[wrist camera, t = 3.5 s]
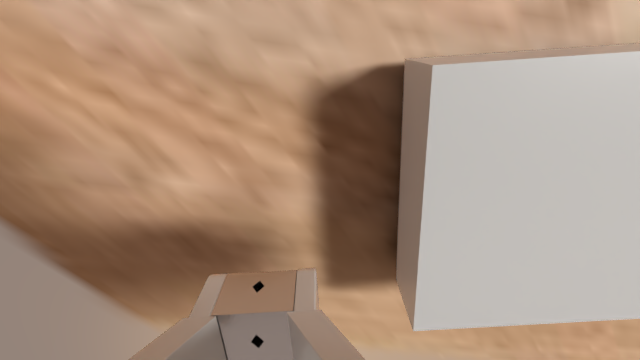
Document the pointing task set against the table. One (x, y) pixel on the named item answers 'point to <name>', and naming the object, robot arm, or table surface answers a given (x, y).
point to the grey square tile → (520, 188)
